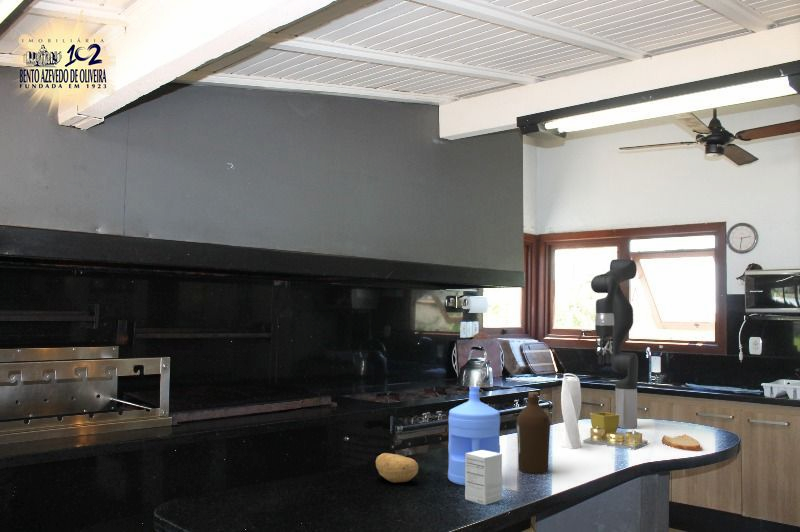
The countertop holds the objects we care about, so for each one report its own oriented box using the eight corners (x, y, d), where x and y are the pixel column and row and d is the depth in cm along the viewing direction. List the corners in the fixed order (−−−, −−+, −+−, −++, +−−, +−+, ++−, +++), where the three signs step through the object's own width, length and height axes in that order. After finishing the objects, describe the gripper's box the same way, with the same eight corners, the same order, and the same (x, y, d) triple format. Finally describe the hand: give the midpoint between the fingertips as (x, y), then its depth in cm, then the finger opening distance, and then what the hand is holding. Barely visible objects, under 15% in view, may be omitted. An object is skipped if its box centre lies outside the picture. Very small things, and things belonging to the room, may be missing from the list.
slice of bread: (698, 453, 260) (698, 442, 260) (651, 446, 272) (651, 436, 272) (714, 446, 273) (714, 436, 274) (668, 440, 285) (668, 430, 286)
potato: (406, 489, 201) (407, 460, 201) (368, 481, 209) (368, 454, 210) (425, 482, 209) (426, 455, 209) (388, 475, 217) (388, 449, 218)
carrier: (598, 437, 287) (598, 423, 288) (647, 443, 275) (647, 429, 276) (583, 443, 274) (583, 428, 275) (634, 449, 263) (634, 434, 263)
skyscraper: (573, 450, 261) (572, 374, 262) (556, 446, 266) (556, 372, 268) (585, 447, 266) (585, 373, 267) (568, 444, 271) (568, 371, 273)
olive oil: (552, 468, 229) (552, 391, 231) (546, 475, 219) (547, 395, 221) (520, 465, 233) (520, 389, 235) (513, 472, 223) (513, 393, 225)
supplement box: (481, 495, 196) (482, 449, 196) (502, 500, 190) (502, 453, 191) (464, 499, 191) (464, 452, 191) (485, 505, 185) (485, 457, 186)
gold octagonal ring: (629, 440, 275) (629, 431, 275) (643, 442, 271) (643, 432, 272) (624, 442, 270) (624, 433, 270) (639, 444, 267) (638, 434, 267)
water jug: (446, 474, 220) (447, 384, 222) (497, 475, 219) (497, 385, 221) (448, 486, 204) (449, 389, 206) (502, 487, 204) (503, 390, 205)
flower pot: (589, 434, 294) (589, 412, 295) (605, 433, 298) (605, 411, 298) (603, 438, 286) (603, 415, 287) (620, 436, 290) (620, 414, 290)
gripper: (602, 323, 297) (602, 362, 296) (589, 324, 286) (589, 364, 285) (619, 324, 293) (619, 363, 292) (607, 324, 282) (607, 365, 281)
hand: (604, 363), depth 288 cm, fingers open, 8 cm apart
